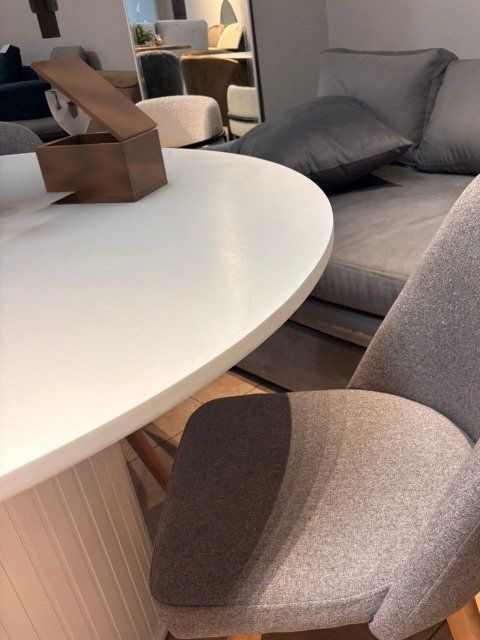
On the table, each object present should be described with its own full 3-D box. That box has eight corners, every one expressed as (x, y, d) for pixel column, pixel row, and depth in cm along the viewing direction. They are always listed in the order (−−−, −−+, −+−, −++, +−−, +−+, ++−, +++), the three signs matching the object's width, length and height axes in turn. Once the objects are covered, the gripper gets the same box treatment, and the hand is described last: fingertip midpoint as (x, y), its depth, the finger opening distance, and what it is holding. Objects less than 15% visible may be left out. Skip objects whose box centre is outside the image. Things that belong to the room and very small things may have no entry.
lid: (29, 66, 94) (31, 62, 94) (75, 59, 104) (76, 55, 104) (120, 142, 97) (122, 138, 96) (156, 127, 107) (158, 123, 107)
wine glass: (90, 166, 132) (71, 86, 124) (116, 168, 127) (97, 85, 120) (58, 175, 126) (36, 92, 119) (84, 177, 122) (62, 91, 114)
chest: (50, 204, 105) (34, 148, 101) (89, 185, 116) (76, 133, 111) (135, 201, 101) (122, 143, 97) (167, 182, 112) (157, 128, 107)
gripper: (-59, -163, 84) (0, 42, 96) (27, -179, 80) (76, 35, 93) (-21, -152, 90) (29, 40, 102) (60, -167, 86) (102, 33, 99)
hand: (51, 37), depth 97 cm, fingers closed
